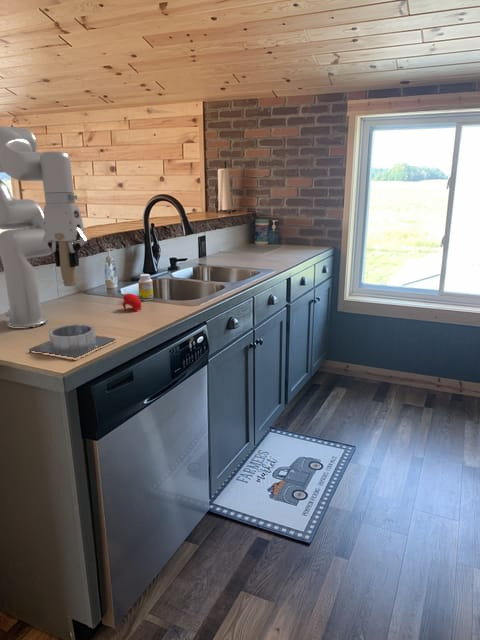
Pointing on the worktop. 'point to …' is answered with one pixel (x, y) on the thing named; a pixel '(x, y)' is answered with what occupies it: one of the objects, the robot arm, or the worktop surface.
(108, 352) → the worktop surface
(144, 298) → the supplement bottle
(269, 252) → the worktop surface
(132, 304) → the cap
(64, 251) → the handle
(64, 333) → the duct collar
